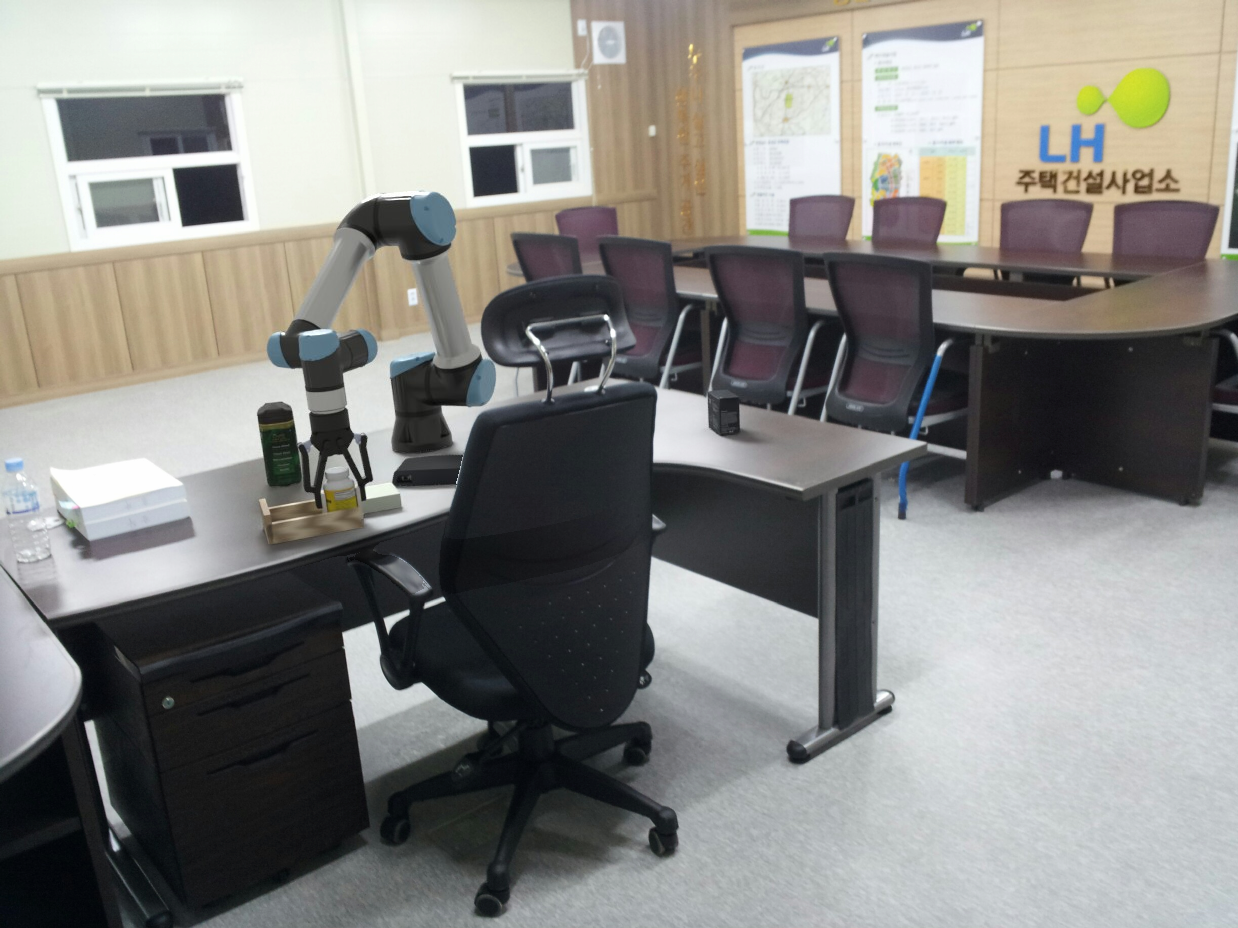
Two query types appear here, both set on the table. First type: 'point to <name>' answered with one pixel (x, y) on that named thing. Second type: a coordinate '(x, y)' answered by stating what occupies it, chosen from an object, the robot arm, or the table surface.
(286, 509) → the tray
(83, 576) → the table surface
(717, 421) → the box
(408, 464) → the external hard drive
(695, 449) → the table surface
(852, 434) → the table surface
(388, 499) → the stand
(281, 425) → the coffee jar
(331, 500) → the pill bottle
